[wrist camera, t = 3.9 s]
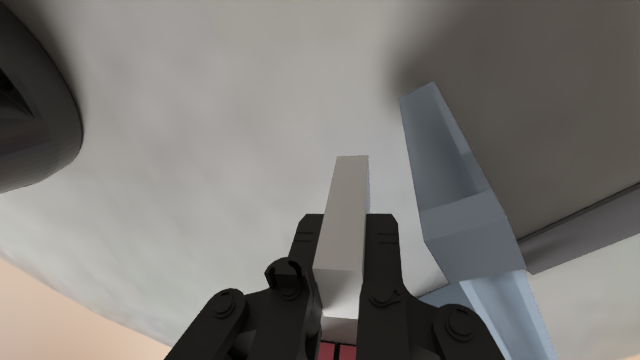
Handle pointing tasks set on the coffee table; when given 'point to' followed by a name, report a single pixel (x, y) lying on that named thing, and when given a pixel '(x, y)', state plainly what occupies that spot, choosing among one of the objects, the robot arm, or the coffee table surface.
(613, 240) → the latch line mat
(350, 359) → the puzzle cube
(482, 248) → the gate
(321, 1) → the coffee table surface
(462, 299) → the fence panel
